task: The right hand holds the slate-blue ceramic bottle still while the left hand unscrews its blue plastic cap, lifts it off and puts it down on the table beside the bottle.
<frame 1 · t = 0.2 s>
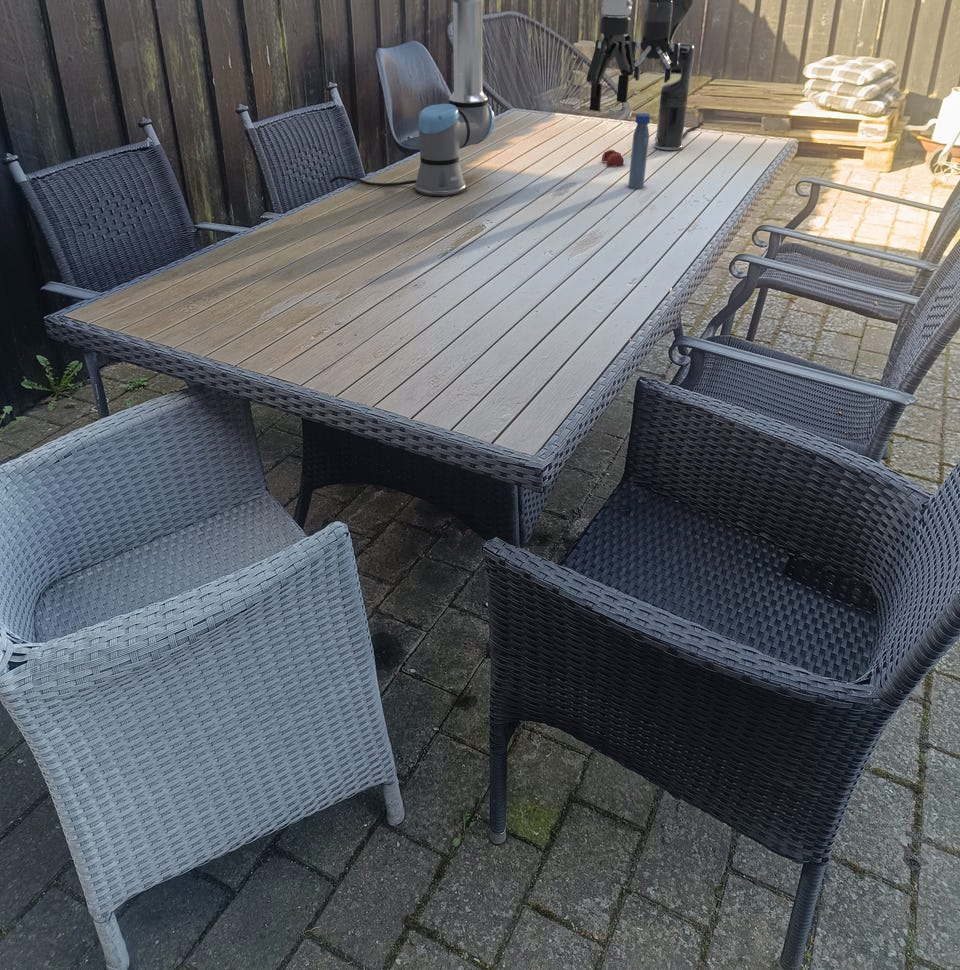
left hand: (608, 106, 226), 28 cm above the table, tool pointing down, fingers open, 13 cm apart
right hand: (651, 81, 248), 29 cm above the table, tool pointing down, fingers open, 8 cm apart
cap: (643, 115, 249), point 21 cm above the table, screwed on, not yet turned
bottle: (635, 186, 261), on the table
dental model: (612, 163, 282), on the table
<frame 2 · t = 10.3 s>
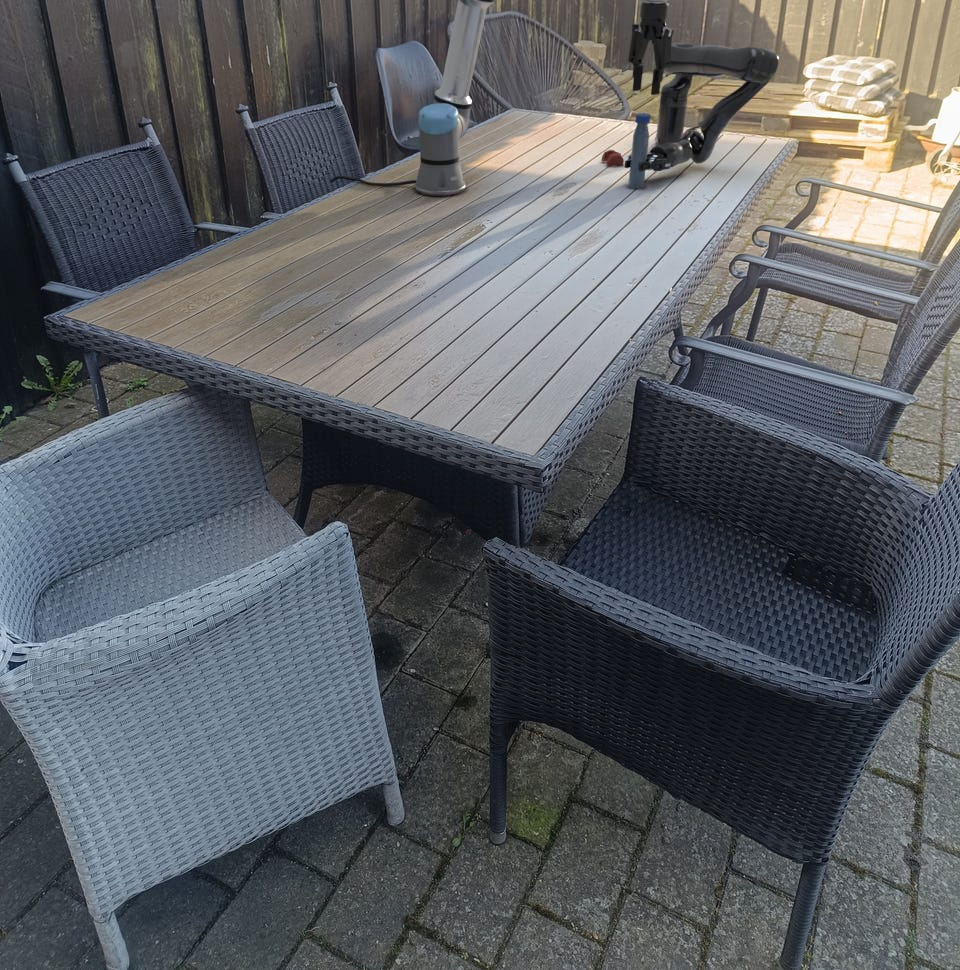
left hand: (645, 92, 245), 27 cm above the table, tool pointing down, fingers open, 7 cm apart
right hand: (632, 166, 256), 7 cm above the table, tool horizontal, fingers closed on bottle, 4 cm apart
bottle: (635, 186, 261), on the table, touching right hand
everything else where it was.
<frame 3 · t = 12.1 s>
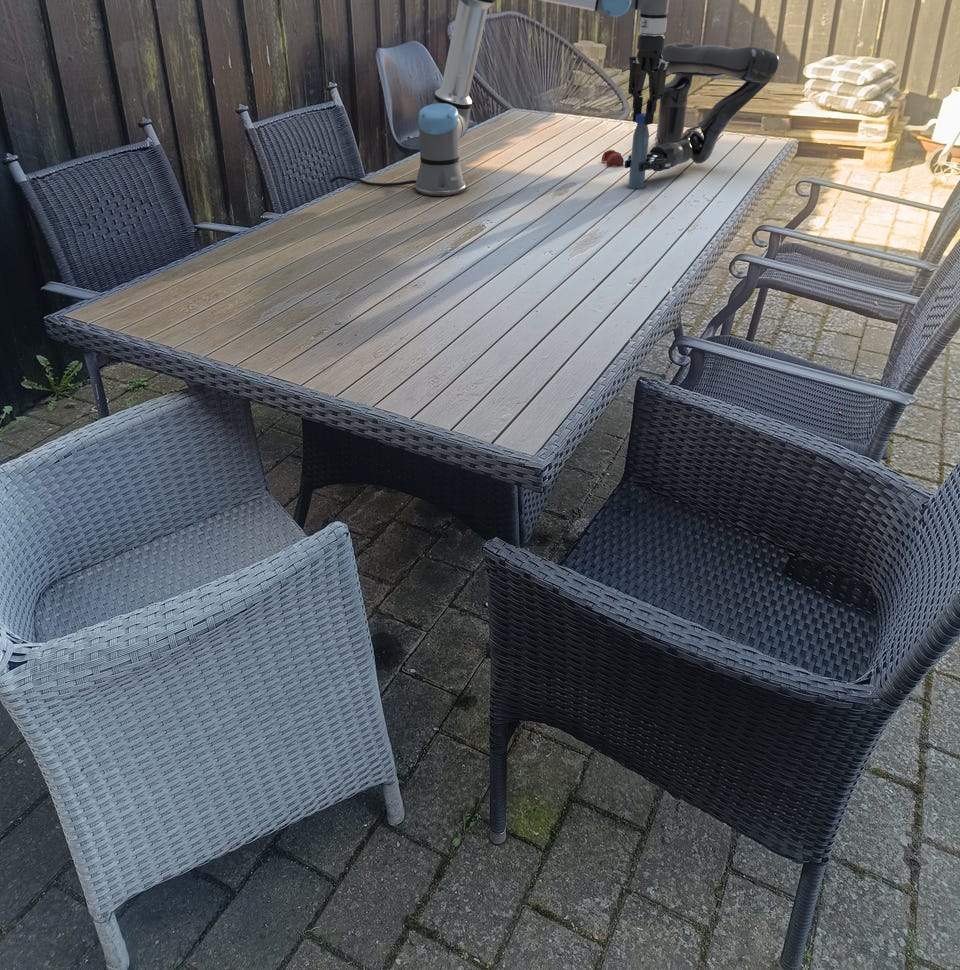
left hand: (642, 122, 250), 19 cm above the table, tool pointing down, fingers closed on cap, 4 cm apart
right hand: (632, 166, 256), 7 cm above the table, tool horizontal, fingers closed on bottle, 4 cm apart
cap: (643, 115, 249), point 21 cm above the table, screwed on, not yet turned, touching left hand
bottle: (635, 186, 261), on the table, touching right hand
everything else where it was.
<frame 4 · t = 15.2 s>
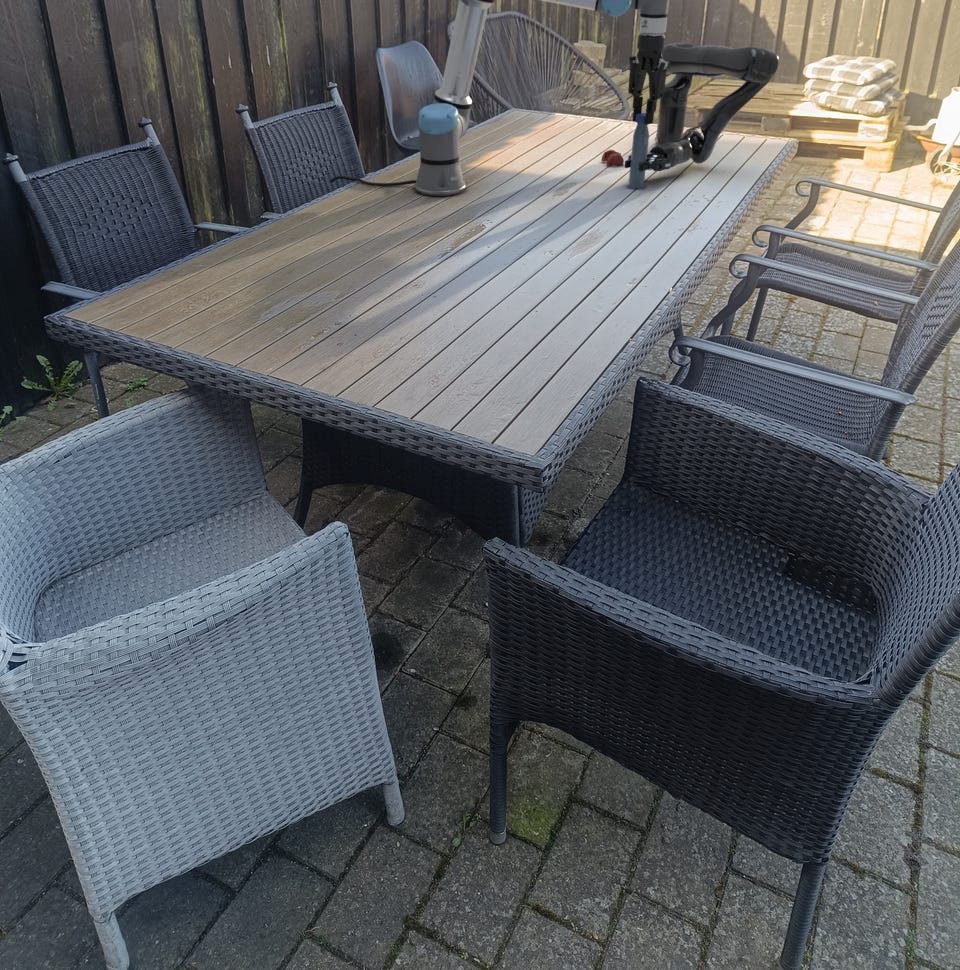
left hand: (642, 122, 250), 19 cm above the table, tool pointing down, fingers closed on cap, 4 cm apart
right hand: (632, 166, 256), 7 cm above the table, tool horizontal, fingers closed on bottle, 4 cm apart
cap: (643, 115, 249), point 21 cm above the table, turned 89° so far, risen 0.1 cm, still on its thread, touching left hand
bottle: (635, 186, 261), on the table, touching right hand
everything else where it was.
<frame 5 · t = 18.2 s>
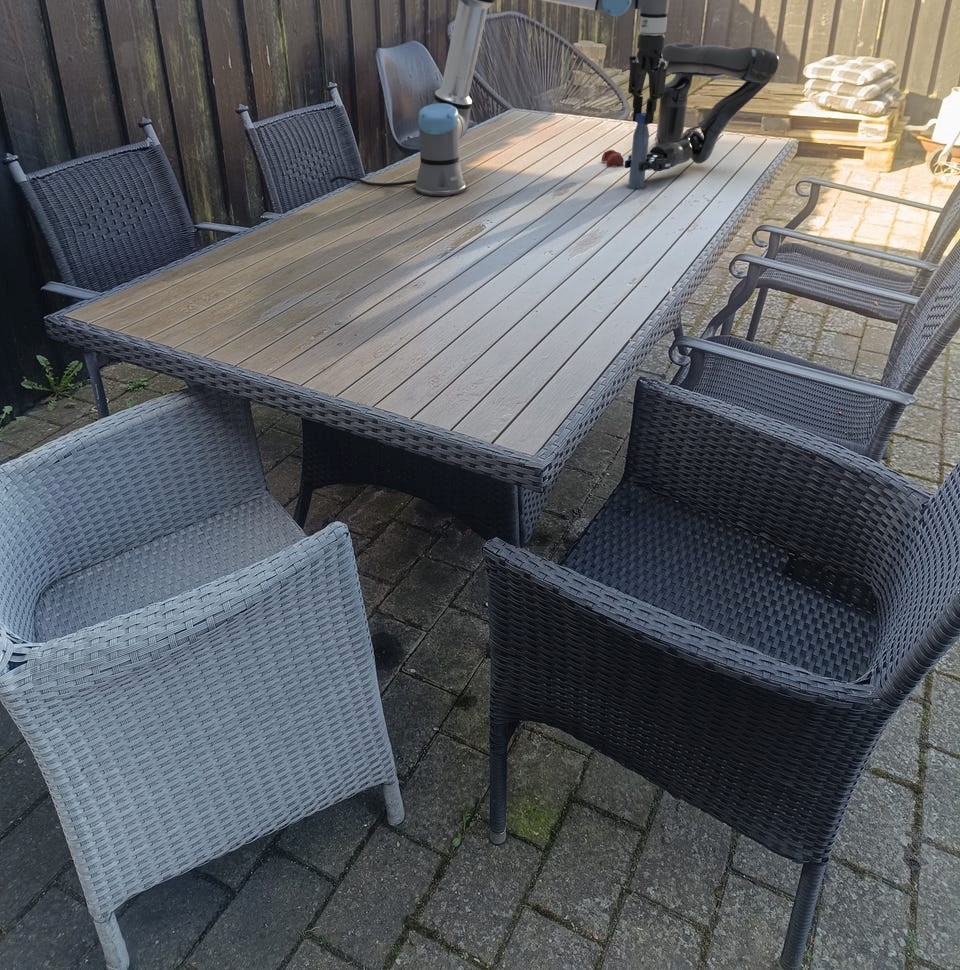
left hand: (642, 121, 250), 19 cm above the table, tool pointing down, fingers closed on cap, 4 cm apart
right hand: (632, 166, 256), 7 cm above the table, tool horizontal, fingers closed on bottle, 4 cm apart
cap: (643, 115, 249), point 21 cm above the table, turned 178° so far, risen 0.2 cm, still on its thread, touching left hand
bottle: (635, 186, 261), on the table, touching right hand
everything else where it was.
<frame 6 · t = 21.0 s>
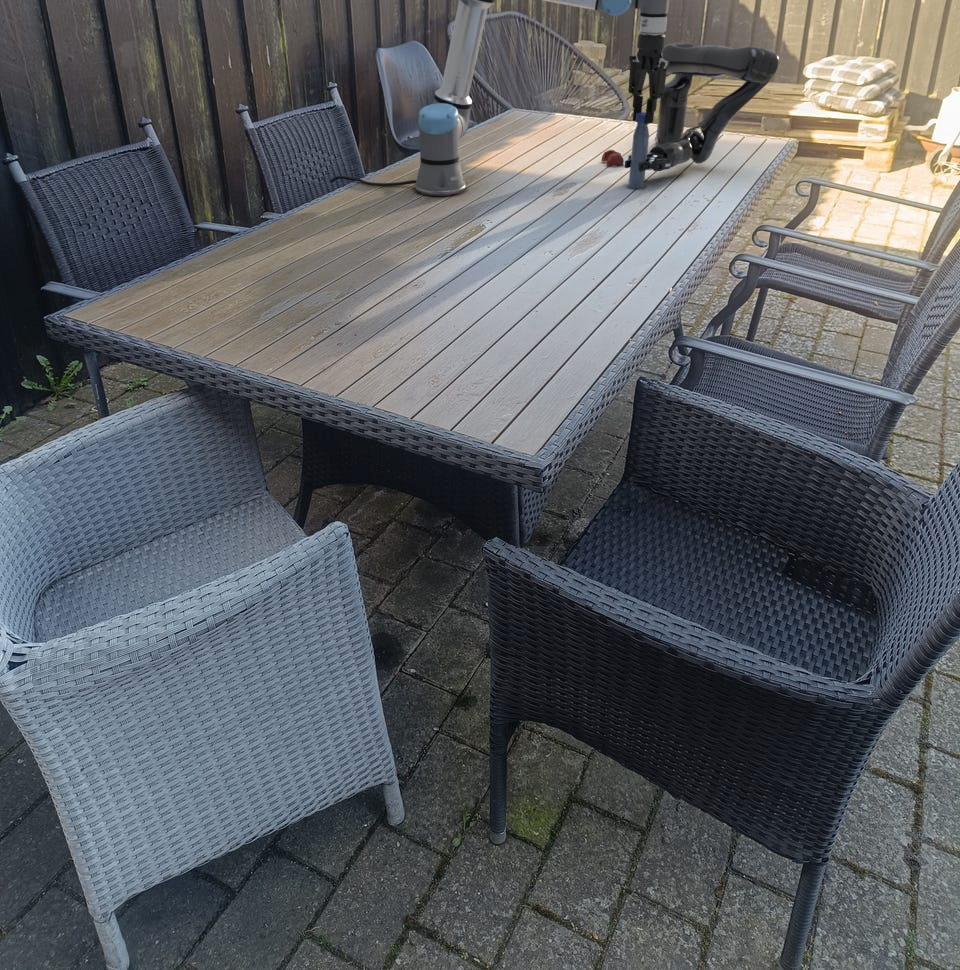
left hand: (642, 121, 250), 19 cm above the table, tool pointing down, fingers closed on cap, 4 cm apart
right hand: (632, 166, 256), 7 cm above the table, tool horizontal, fingers closed on bottle, 4 cm apart
cap: (643, 115, 249), point 21 cm above the table, turned 267° so far, risen 0.2 cm, still on its thread, touching left hand
bottle: (635, 186, 261), on the table, touching right hand
everything else where it was.
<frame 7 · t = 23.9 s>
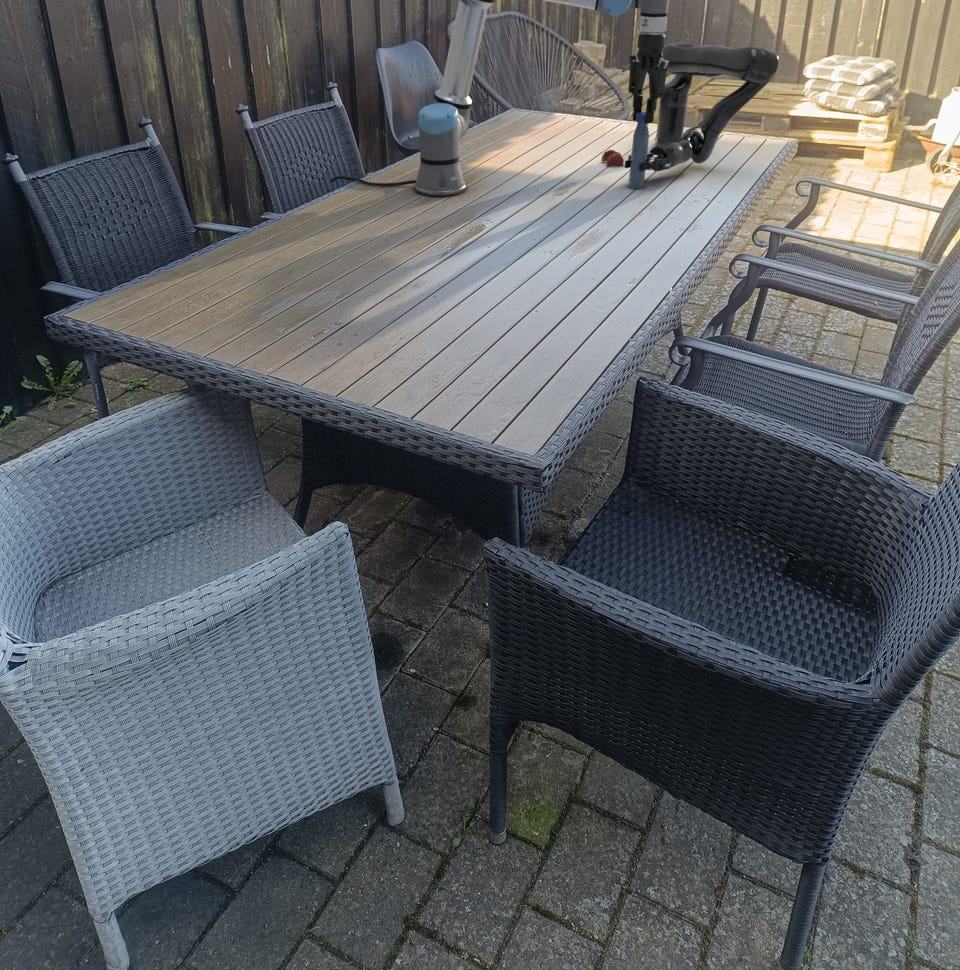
left hand: (642, 121, 250), 19 cm above the table, tool pointing down, fingers closed on cap, 4 cm apart
right hand: (632, 166, 256), 7 cm above the table, tool horizontal, fingers closed on bottle, 4 cm apart
cap: (643, 114, 249), point 21 cm above the table, turned 357° so far, risen 0.3 cm, still on its thread, touching left hand
bottle: (635, 186, 261), on the table, touching right hand
everything else where it was.
when the left hand's fingers open (1 cm above the table, at t = 34.4 s): cap drops 1 cm, point 2 cm above the table.
when the right hand's fingers open (7 cm above the table, at t = 35.7 s): bottle stays where it is, on the table.
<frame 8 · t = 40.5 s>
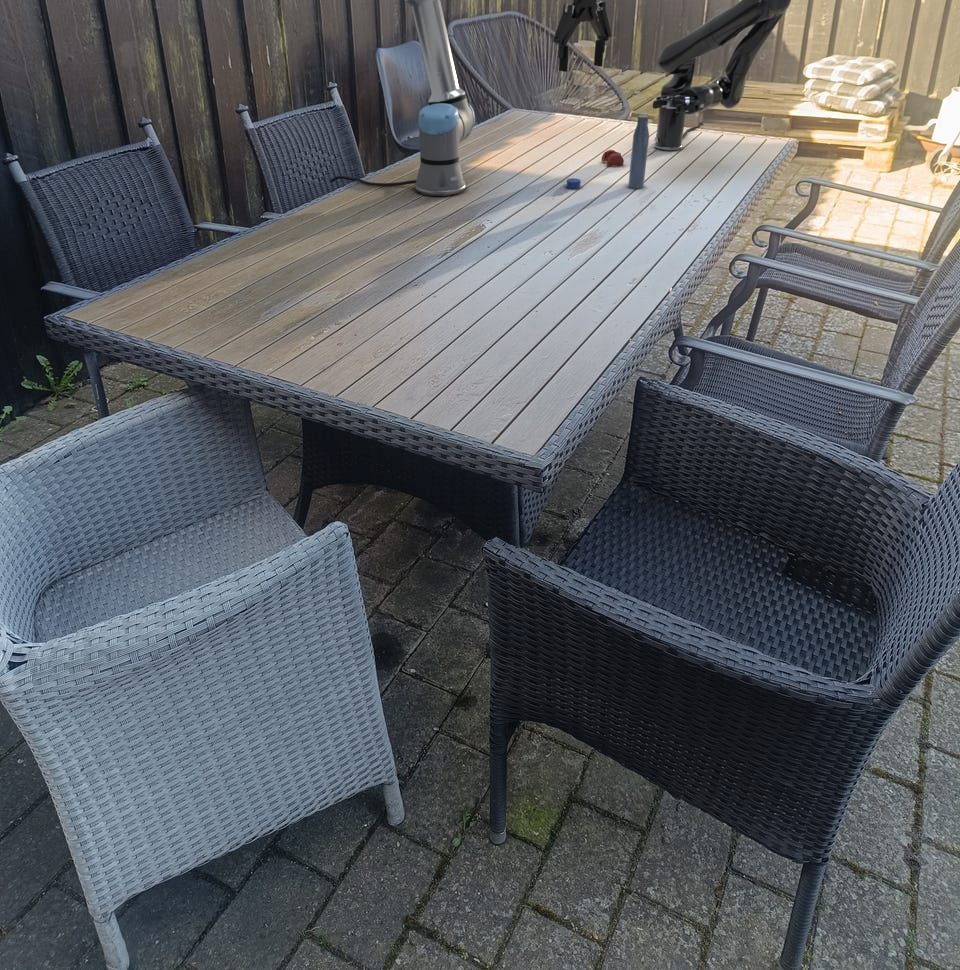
left hand: (580, 68, 241), 33 cm above the table, tool pointing down, fingers open, 13 cm apart
right hand: (665, 107, 254), 22 cm above the table, tool horizontal, fingers open, 8 cm apart
cap: (573, 181, 260), point 2 cm above the table, off its thread
bottle: (635, 186, 261), on the table
everything else where it was.
at the end: cap came off its thread; cap point 1.8 cm above the table; the left hand is holding nothing; the right hand is holding nothing; bottle tilted 0°; bottle moved 0.0 cm from its start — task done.
